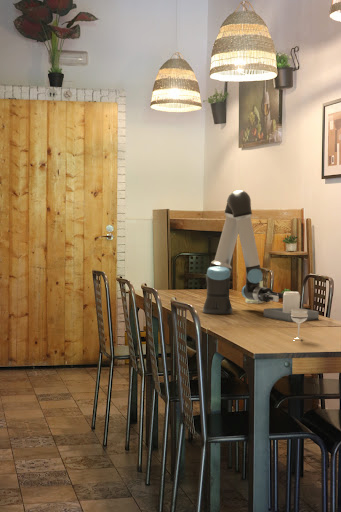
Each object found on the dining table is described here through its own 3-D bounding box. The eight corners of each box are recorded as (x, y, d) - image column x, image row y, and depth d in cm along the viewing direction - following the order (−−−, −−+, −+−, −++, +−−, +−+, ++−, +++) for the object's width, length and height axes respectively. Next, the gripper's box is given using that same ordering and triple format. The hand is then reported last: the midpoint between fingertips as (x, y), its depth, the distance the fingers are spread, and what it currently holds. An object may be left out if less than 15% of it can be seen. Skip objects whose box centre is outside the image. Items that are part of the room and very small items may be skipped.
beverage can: (299, 317, 349) (299, 293, 349) (282, 316, 351) (283, 292, 350) (299, 315, 357) (299, 291, 357) (282, 314, 359) (283, 291, 358)
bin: (288, 321, 341) (288, 313, 341) (263, 316, 357) (263, 308, 357) (318, 319, 351) (318, 311, 350) (292, 314, 367) (293, 307, 367)
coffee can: (245, 301, 428) (245, 277, 427) (262, 301, 427) (263, 278, 426) (245, 303, 418) (245, 279, 417) (262, 303, 417) (263, 279, 416)
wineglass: (304, 338, 291) (305, 309, 290) (308, 341, 284) (309, 311, 284) (288, 338, 291) (289, 309, 290) (291, 341, 284) (292, 311, 283)
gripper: (282, 300, 380) (308, 305, 362) (243, 302, 368) (268, 307, 349) (282, 286, 380) (308, 290, 361) (243, 287, 368) (268, 291, 349)
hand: (288, 298), depth 355 cm, fingers open, 13 cm apart
